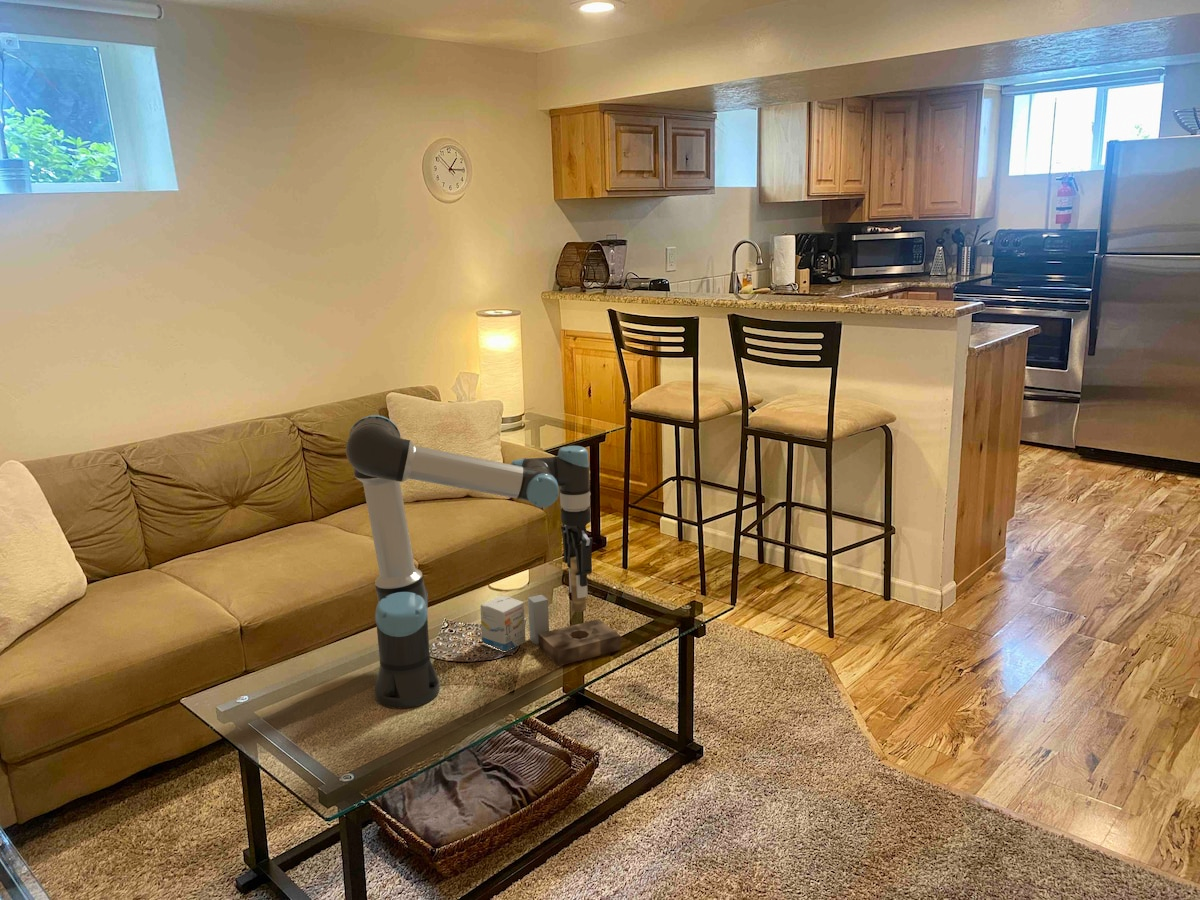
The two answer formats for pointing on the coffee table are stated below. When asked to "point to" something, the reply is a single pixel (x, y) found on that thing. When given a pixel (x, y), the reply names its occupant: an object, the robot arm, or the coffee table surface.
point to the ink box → (503, 623)
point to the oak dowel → (577, 603)
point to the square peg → (538, 617)
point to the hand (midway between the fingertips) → (578, 593)
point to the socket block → (579, 642)
